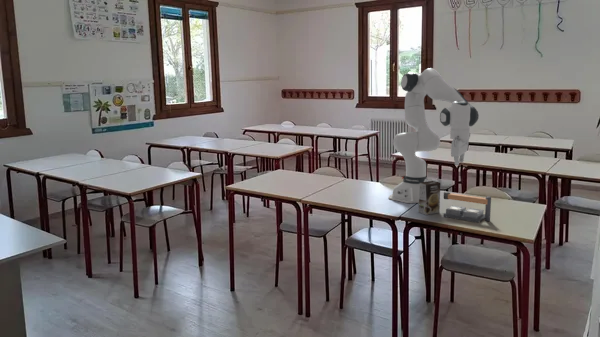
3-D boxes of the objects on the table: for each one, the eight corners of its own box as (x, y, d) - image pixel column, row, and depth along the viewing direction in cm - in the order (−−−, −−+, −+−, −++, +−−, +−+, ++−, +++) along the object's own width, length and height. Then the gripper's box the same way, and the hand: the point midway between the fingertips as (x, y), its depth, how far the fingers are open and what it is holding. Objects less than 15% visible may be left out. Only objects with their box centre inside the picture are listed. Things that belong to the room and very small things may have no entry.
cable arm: (491, 219, 249) (492, 196, 247) (488, 221, 247) (489, 198, 244) (444, 212, 264) (445, 190, 261) (442, 213, 261) (442, 191, 259)
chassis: (443, 216, 257) (443, 208, 257) (451, 211, 265) (451, 204, 264) (478, 222, 246) (479, 214, 246) (485, 217, 254) (486, 209, 253)
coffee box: (426, 215, 260) (427, 184, 257) (418, 212, 266) (418, 182, 263) (440, 212, 264) (441, 182, 261) (431, 209, 270) (432, 180, 267)
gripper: (461, 137, 233) (460, 167, 236) (471, 132, 251) (470, 160, 253) (447, 137, 236) (447, 166, 239) (458, 132, 254) (457, 159, 256)
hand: (459, 163), depth 246 cm, fingers open, 8 cm apart
